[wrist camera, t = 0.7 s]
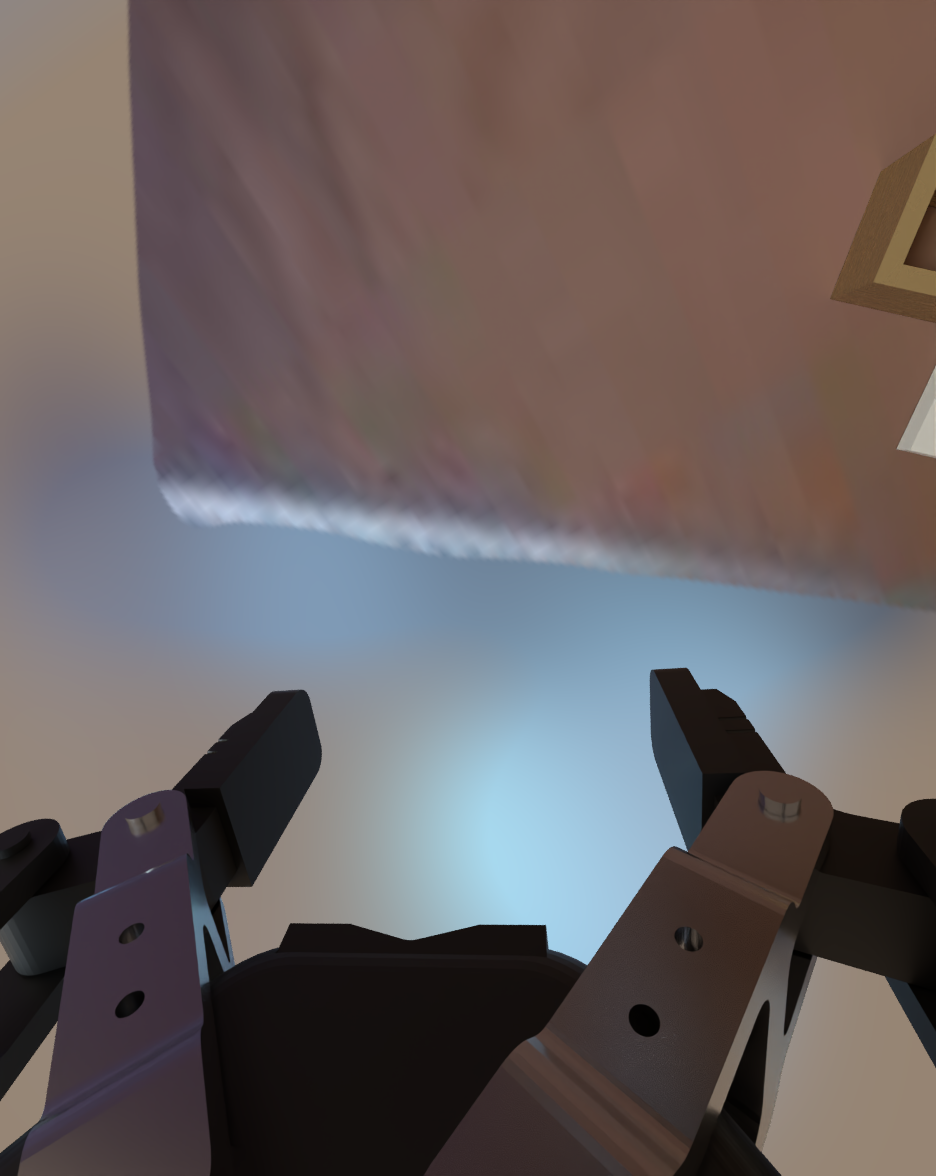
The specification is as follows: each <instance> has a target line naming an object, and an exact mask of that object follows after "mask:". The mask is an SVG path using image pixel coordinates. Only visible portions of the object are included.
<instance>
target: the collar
mask: <svg viewBox="0 0 936 1176" xmlns="http://www.w3.org/2000/svg"><path fill="white" fill-rule="evenodd" d="M928 206H932V207H936V134H935V135H933V136H932V137H930V138H929V139H927V140H926V141H925V142H923V143H922V144H920V145H919V146H917V147H916V148H914V149H913V150H912V151H910V152H909V153H907V154H906V155H904V156H903V157H901V158H900V159H898V160H897V161H896V162H894V163H893V164H891V165H890V166H888V167H887V168H885V169H884V170H883V171H881V173H880V175H879V178H878V180H877V183H876V185H875V188H874V190H873V193H872V195H871V198H870V200H869V203H868V205H867V208H866V210H865V213H864V215H863V218H862V220H861V223H860V226H859V228H858V231H857V233H856V236H855V238H854V241H853V243H852V246H851V248H850V251H849V253H848V256H847V258H846V261H845V263H844V266H843V268H842V271H841V273H840V276H839V278H838V281H837V283H836V286H835V288H834V291H833V293H832V296H831V298H830V299H832V300H837V301H841V302H846V303H850V304H855V305H859V306H864V307H868V308H873V309H877V310H881V311H886V312H890V313H895V314H899V315H904V316H908V317H913V318H917V319H922V320H926V321H930V322H935V323H936V271H931V270H926V269H922V268H917V267H913V266H908V265H904V264H903V263H904V261H905V259H906V256H907V254H908V252H909V249H910V247H911V245H912V242H913V240H914V238H915V235H916V233H917V231H918V228H919V226H920V224H921V221H922V219H923V217H924V214H925V212H926V210H927V207H928Z"/></svg>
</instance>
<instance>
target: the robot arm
mask: <svg viewBox="0 0 936 1176" xmlns="http://www.w3.org/2000/svg"><path fill="white" fill-rule="evenodd" d="M650 712H651V713H650V716H651V740H652V747H653V753H654V757H655V760H656V763H657V766H658V769H659V772H660V774H661V777H662V780H663V783H664V786H665V789H666V791H667V794H668V797H669V800H670V803H671V805H672V808H673V811H674V814H675V817H676V819H677V822H678V825H679V828H680V830H681V834H682V836H683V839H684V842H685V845H686V848H687V850H688V852H687V851H684V850H682V849H680V848H678V847H675V846H673V847H671V848H669V849H668V850H667V851H666V852H665V853H664V855H663V856H662V858H661V859H660V861H659V862H658V863H657V865H656V866H655V868H654V869H653V871H652V872H651V874H650V875H649V877H648V878H647V879H646V881H645V882H644V884H643V885H642V887H641V888H640V890H639V891H638V893H637V894H636V896H635V897H634V898H633V900H632V901H631V903H630V904H629V906H628V907H627V909H626V910H625V912H624V913H623V915H622V916H621V917H620V919H619V920H618V922H617V923H616V925H615V926H614V928H613V929H612V931H611V932H610V933H609V935H608V936H607V938H606V939H605V941H604V942H603V944H602V945H601V947H600V948H599V950H598V951H597V952H596V954H595V956H594V957H593V958H592V960H591V961H590V963H589V964H588V965H586V964H584V963H582V962H580V961H579V960H577V959H574V958H572V957H570V956H567V955H565V954H563V953H560V952H556V951H553V950H549V949H548V941H547V931H546V925H476V926H472V927H468V928H464V929H459V930H455V931H451V932H447V933H443V934H438V935H434V936H430V937H426V938H421V939H417V940H403V939H400V938H397V937H393V936H390V935H387V934H383V933H380V932H376V931H372V930H369V929H366V928H362V927H359V926H355V925H352V924H304V923H303V924H301V923H299V924H298V923H297V924H296V923H293V924H292V923H291V924H290V925H289V927H288V929H287V932H286V934H285V936H284V938H283V940H282V942H281V945H280V947H279V948H275V949H272V950H269V951H266V952H263V953H260V954H257V955H255V956H253V957H251V958H249V959H247V960H244V961H242V962H241V963H239V964H237V965H235V962H234V957H233V951H232V945H231V940H230V935H229V929H228V923H227V918H226V913H225V908H224V905H223V902H222V900H221V895H222V893H223V892H224V890H225V889H226V887H252V886H253V884H254V882H255V880H256V879H257V877H258V875H259V874H260V872H261V870H262V868H263V867H264V865H265V863H266V861H267V860H268V858H269V856H270V854H271V853H272V851H273V849H274V847H275V846H276V844H277V842H278V841H279V839H280V837H281V835H282V834H283V832H284V830H285V828H286V827H287V825H288V823H289V822H290V820H291V818H292V816H293V815H294V813H295V811H296V809H297V807H298V806H299V804H300V802H301V801H302V799H303V797H304V796H305V794H306V792H307V790H308V789H309V787H310V785H311V783H312V782H313V780H314V778H315V776H316V775H317V773H318V771H319V768H320V764H321V757H322V749H321V743H320V739H319V735H318V731H317V727H316V723H315V719H314V714H313V710H312V706H311V703H310V699H309V696H308V694H307V692H305V691H304V690H288V691H274V692H271V693H270V694H269V695H268V696H267V697H266V698H265V699H264V700H263V701H262V702H261V704H260V705H259V706H258V707H257V708H256V709H255V710H254V711H253V713H250V714H249V715H247V716H245V717H244V718H242V719H241V720H239V721H238V722H236V723H235V724H233V725H232V726H231V727H230V728H229V729H228V730H227V731H226V732H225V733H224V734H223V735H222V736H221V737H220V739H219V741H218V742H217V743H215V744H214V745H213V746H212V747H211V748H210V749H209V750H208V754H205V755H204V756H203V757H202V758H201V759H200V760H199V761H198V762H197V763H196V764H195V765H194V766H193V768H192V769H191V770H190V771H189V772H188V773H187V774H186V775H185V776H184V777H183V778H182V779H181V780H180V781H179V783H178V784H177V785H176V786H175V787H174V788H173V789H172V790H163V791H158V792H154V793H151V794H147V795H145V796H142V797H140V798H138V799H136V800H134V801H132V802H130V803H128V804H127V805H125V806H124V807H122V808H121V809H119V810H118V811H117V812H116V813H115V814H113V815H112V816H111V817H110V818H109V819H108V821H107V822H106V823H105V825H104V827H103V829H102V831H99V832H95V833H91V834H88V835H84V836H79V837H75V838H71V839H67V840H66V838H65V836H64V834H63V831H62V829H61V827H60V825H59V823H58V822H57V821H56V820H53V819H38V820H34V821H30V822H26V823H23V824H21V825H18V826H15V827H13V828H11V829H9V830H6V831H5V832H3V833H1V834H0V942H1V944H2V946H3V947H4V949H5V951H6V953H7V955H8V957H9V959H10V960H9V961H8V962H7V964H6V965H5V966H4V967H3V968H2V969H1V970H0V1101H1V1099H2V1098H3V1097H4V1095H5V1093H6V1092H7V1091H8V1090H9V1088H10V1087H11V1085H12V1084H13V1082H14V1081H15V1080H16V1078H17V1077H18V1076H19V1074H20V1073H21V1071H22V1070H23V1069H24V1067H25V1066H26V1064H27V1063H28V1061H29V1060H30V1059H31V1057H32V1056H33V1055H34V1053H35V1052H36V1050H37V1049H38V1048H39V1046H40V1045H41V1043H42V1042H43V1041H44V1039H45V1038H46V1036H47V1035H48V1034H49V1032H50V1031H51V1029H52V1028H53V1026H54V1025H55V1024H56V1022H57V1021H58V1022H57V1029H56V1036H55V1042H54V1049H53V1055H52V1062H51V1069H50V1075H49V1082H48V1088H47V1095H46V1102H45V1107H44V1111H43V1114H42V1117H41V1119H40V1120H39V1122H38V1123H37V1124H35V1125H34V1126H33V1127H32V1128H30V1129H29V1130H28V1131H27V1132H25V1133H24V1134H23V1135H22V1136H21V1137H20V1138H18V1139H17V1140H16V1141H15V1142H13V1143H12V1144H11V1145H10V1146H8V1147H7V1148H6V1149H5V1150H3V1151H2V1152H1V1153H0V1176H781V1174H780V1173H779V1172H778V1171H777V1170H776V1169H775V1167H774V1166H773V1165H772V1164H771V1163H770V1162H769V1161H768V1159H767V1158H766V1157H765V1156H764V1155H763V1154H762V1149H763V1146H764V1143H765V1139H766V1136H767V1133H768V1129H769V1126H770V1122H771V1118H772V1115H773V1111H774V1107H775V1102H776V1098H777V1093H778V1088H779V1083H780V1077H781V1073H782V1068H783V1064H784V1060H785V1057H786V1053H787V1050H788V1047H789V1044H790V1041H791V1038H792V1035H793V1031H794V1028H795V1025H796V1022H797V1019H798V1016H799V1013H800V1010H801V1006H802V1003H803V1000H804V997H805V994H806V991H807V988H808V985H809V981H810V978H811V975H812V972H813V969H814V966H815V963H816V960H817V956H818V957H821V958H824V959H828V960H831V961H835V962H838V963H842V964H845V965H848V966H852V967H855V968H859V969H862V970H865V971H869V972H873V973H876V974H879V975H882V976H885V977H886V980H887V981H888V983H889V985H890V987H891V988H892V990H893V992H894V994H895V996H896V997H897V999H898V1001H899V1003H900V1005H901V1006H902V1008H903V1010H904V1012H905V1014H906V1015H907V1017H908V1019H909V1021H910V1023H911V1024H912V1026H913V1028H914V1030H915V1032H916V1033H917V1035H918V1037H919V1039H920V1040H921V1042H922V1044H923V1046H924V1048H925V1049H926V1051H927V1053H928V1055H929V1056H930V1058H931V1060H932V1062H933V1064H934V1065H935V1067H936V799H923V800H917V801H914V802H911V803H910V804H908V805H906V806H905V808H904V809H903V810H902V814H901V819H900V823H894V822H888V821H883V820H878V819H873V818H867V817H861V816H857V815H852V814H848V813H844V812H841V811H837V810H835V809H833V807H832V805H831V802H830V801H829V800H828V798H827V797H826V796H825V795H824V794H823V793H822V792H821V791H820V790H819V789H817V788H816V787H815V786H813V785H811V784H810V783H808V782H806V781H804V780H802V779H800V778H797V777H794V776H792V775H788V774H786V773H785V771H784V770H783V768H782V767H781V766H780V764H779V763H778V762H777V760H776V759H775V757H774V756H773V754H772V753H771V751H770V750H769V749H768V747H767V746H766V744H765V743H764V741H763V740H762V738H761V737H760V736H759V734H758V733H757V732H755V728H754V727H753V726H752V724H751V723H750V721H749V720H748V719H746V716H745V714H744V713H743V711H742V710H741V709H740V707H739V706H738V704H737V703H736V701H734V700H733V699H731V698H729V697H728V696H726V695H725V694H723V693H722V692H720V691H719V690H717V689H707V690H706V689H705V690H701V689H700V688H699V686H698V684H697V683H696V681H695V680H694V678H693V676H692V675H691V673H690V671H689V670H688V669H687V668H675V669H656V670H651V673H650Z"/></svg>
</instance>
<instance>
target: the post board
mask: <svg viewBox="0 0 936 1176" xmlns="http://www.w3.org/2000/svg"><path fill="white" fill-rule="evenodd" d="M897 449H898V450H902V451H906V452H911V453H915V454H919V455H924V456H928V457H932V458H936V367H935V369H934V371H933V373H932V375H931V377H930V379H929V381H928V384H927V386H926V388H925V390H924V392H923V394H922V396H921V398H920V400H919V403H918V405H917V407H916V409H915V411H914V413H913V415H912V417H911V419H910V422H909V424H908V426H907V428H906V430H905V432H904V434H903V436H902V438H901V441H900V443H899V445H898V447H897Z"/></svg>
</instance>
